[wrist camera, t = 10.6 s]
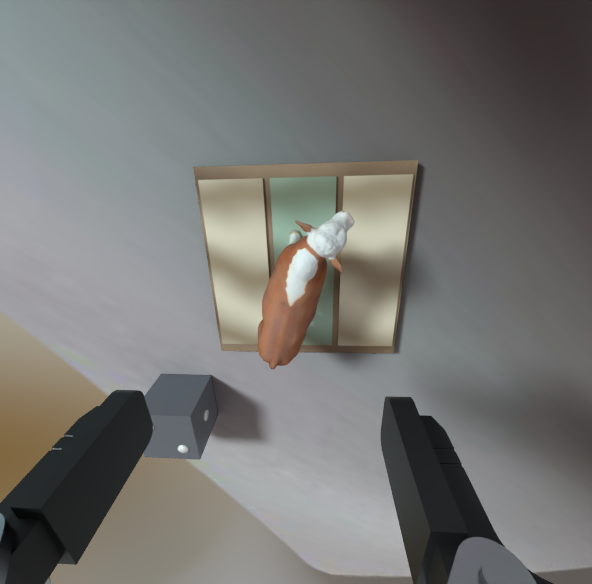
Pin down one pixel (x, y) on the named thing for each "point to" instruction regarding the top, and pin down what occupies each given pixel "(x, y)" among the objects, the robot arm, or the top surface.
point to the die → (180, 415)
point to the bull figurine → (298, 287)
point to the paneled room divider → (276, 235)
